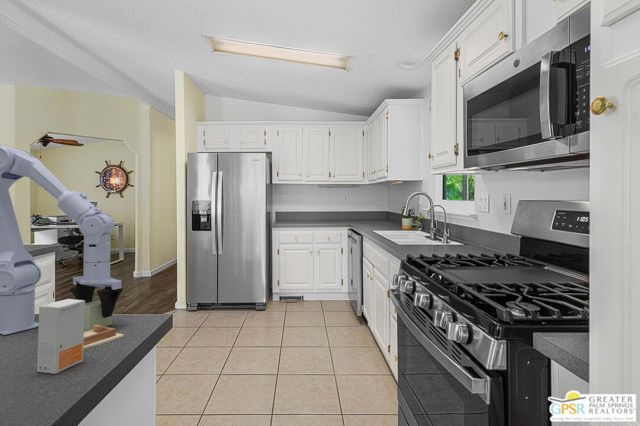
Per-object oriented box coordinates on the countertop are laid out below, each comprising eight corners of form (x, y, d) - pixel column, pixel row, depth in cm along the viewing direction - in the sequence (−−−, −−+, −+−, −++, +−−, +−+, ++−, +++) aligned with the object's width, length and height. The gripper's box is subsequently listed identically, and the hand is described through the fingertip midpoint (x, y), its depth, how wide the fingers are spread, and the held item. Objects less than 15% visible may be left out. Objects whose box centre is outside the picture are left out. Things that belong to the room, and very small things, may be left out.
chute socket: (40, 346, 77) (41, 337, 77) (95, 330, 88) (96, 322, 88) (70, 355, 73) (70, 345, 73) (124, 336, 84) (124, 328, 84)
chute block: (78, 328, 89) (79, 304, 89) (102, 322, 94) (102, 299, 94) (89, 331, 87) (89, 306, 87) (112, 324, 93) (112, 301, 93)
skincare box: (56, 375, 64) (57, 307, 64) (36, 372, 65) (37, 306, 65) (84, 361, 70) (86, 299, 70) (66, 359, 71) (67, 298, 71)
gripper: (61, 261, 90) (60, 315, 90) (103, 265, 84) (102, 323, 84) (88, 258, 96) (87, 308, 96) (128, 261, 91) (128, 315, 91)
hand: (96, 315), depth 91 cm, fingers open, 7 cm apart
